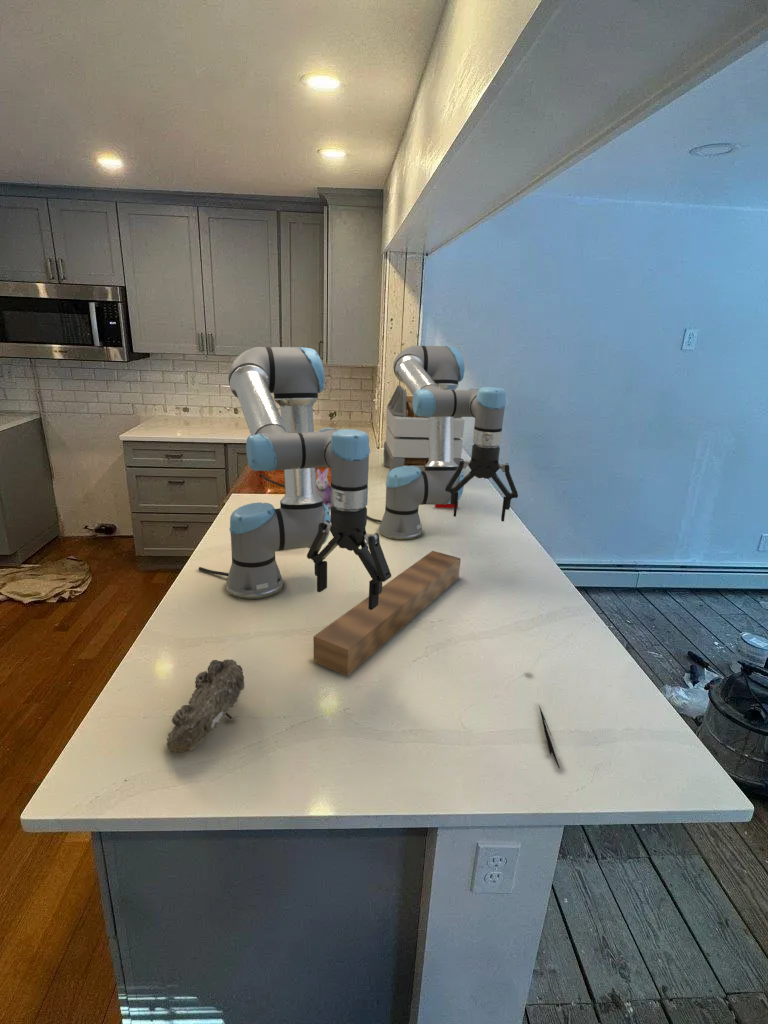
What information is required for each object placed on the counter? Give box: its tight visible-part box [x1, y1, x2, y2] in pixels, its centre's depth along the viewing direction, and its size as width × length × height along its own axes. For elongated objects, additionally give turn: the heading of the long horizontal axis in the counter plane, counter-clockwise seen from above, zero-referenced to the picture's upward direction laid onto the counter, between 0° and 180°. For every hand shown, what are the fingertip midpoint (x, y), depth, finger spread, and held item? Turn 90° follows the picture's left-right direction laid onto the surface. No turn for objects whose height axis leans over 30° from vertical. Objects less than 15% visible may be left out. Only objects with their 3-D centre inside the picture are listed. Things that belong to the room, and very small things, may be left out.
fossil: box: [166, 658, 245, 754], centre depth 106 cm, size 22×10×15 cm
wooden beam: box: [313, 550, 461, 677], centre depth 146 cm, size 58×9×7 cm, turn 149°
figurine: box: [316, 467, 332, 509], centre depth 222 cm, size 9×10×15 cm
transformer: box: [383, 384, 465, 471], centre depth 268 cm, size 34×33×41 cm
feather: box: [528, 673, 561, 769], centre depth 112 cm, size 2×28×2 cm
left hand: (347, 598), depth 124 cm, fingers open, 13 cm apart
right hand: (478, 517), depth 163 cm, fingers open, 13 cm apart
